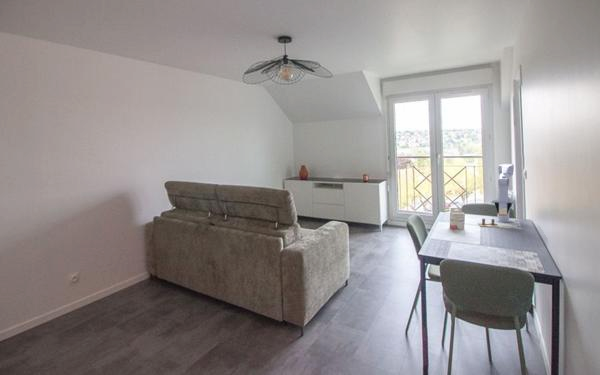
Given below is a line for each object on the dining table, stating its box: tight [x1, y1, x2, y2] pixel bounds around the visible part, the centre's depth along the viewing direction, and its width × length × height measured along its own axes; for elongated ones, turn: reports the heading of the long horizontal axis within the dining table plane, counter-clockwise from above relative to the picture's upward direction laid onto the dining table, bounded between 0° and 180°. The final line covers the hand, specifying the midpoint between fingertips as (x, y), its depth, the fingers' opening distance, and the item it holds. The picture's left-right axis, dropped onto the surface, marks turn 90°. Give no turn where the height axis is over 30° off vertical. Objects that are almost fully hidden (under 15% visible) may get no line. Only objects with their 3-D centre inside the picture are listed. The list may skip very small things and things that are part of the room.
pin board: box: [477, 218, 500, 228], centre depth 236 cm, size 10×12×5 cm
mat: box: [495, 222, 513, 227], centre depth 236 cm, size 9×9×1 cm
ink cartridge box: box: [449, 207, 466, 230], centre depth 231 cm, size 9×5×15 cm, turn 84°
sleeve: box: [497, 208, 507, 216], centre depth 235 cm, size 5×6×5 cm
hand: (502, 213), depth 235 cm, fingers closed on sleeve, 5 cm apart
